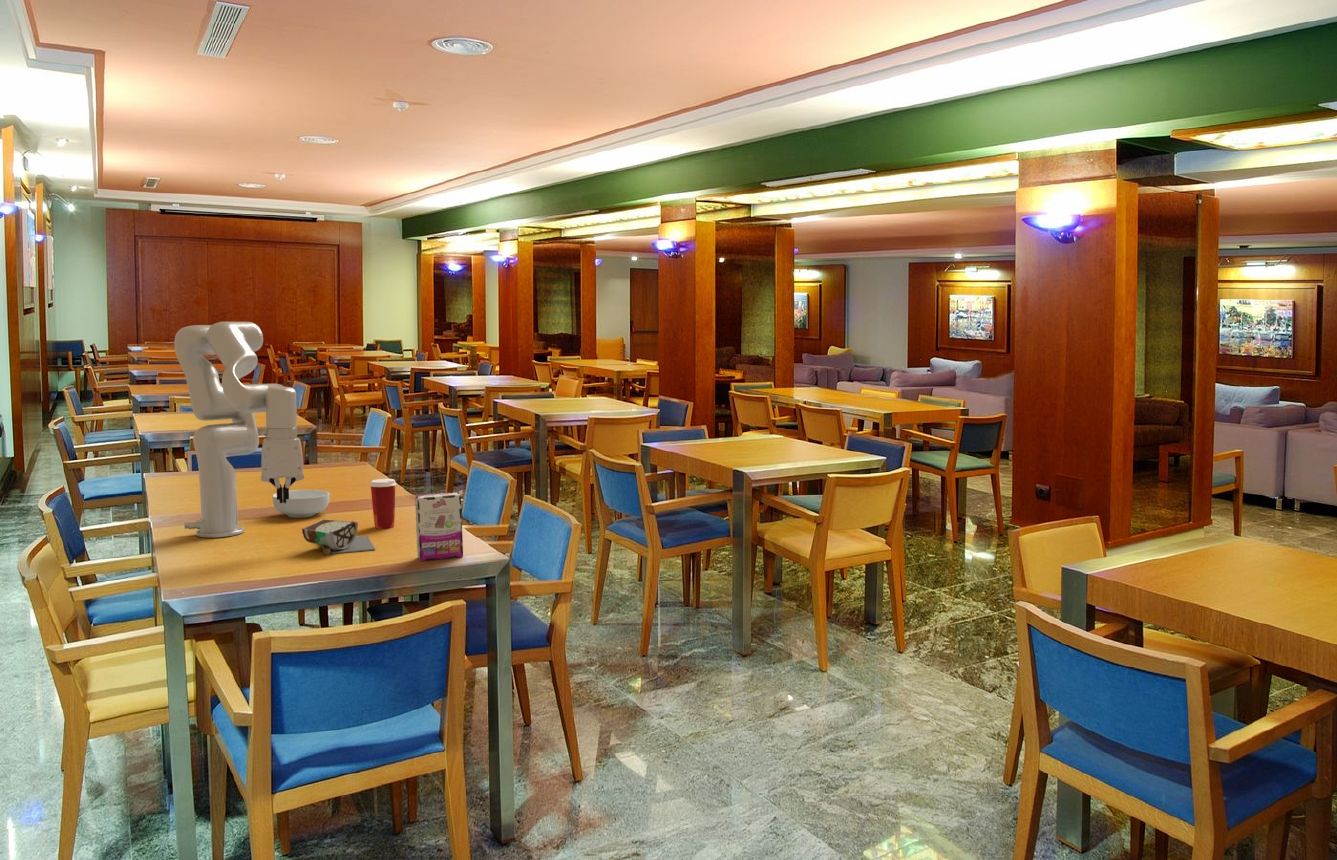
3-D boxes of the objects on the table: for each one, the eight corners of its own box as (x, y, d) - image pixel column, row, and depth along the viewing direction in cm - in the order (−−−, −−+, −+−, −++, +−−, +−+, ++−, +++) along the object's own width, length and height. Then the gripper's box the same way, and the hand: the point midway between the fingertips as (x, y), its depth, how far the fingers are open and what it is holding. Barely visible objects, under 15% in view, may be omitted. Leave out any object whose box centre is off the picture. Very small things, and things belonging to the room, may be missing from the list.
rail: (324, 554, 255) (324, 549, 255) (319, 541, 271) (319, 535, 271) (330, 554, 255) (330, 548, 255) (325, 540, 272) (325, 535, 272)
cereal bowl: (284, 523, 297) (283, 500, 296) (265, 515, 309) (264, 493, 309) (338, 516, 308) (338, 493, 307) (318, 508, 320) (317, 487, 320)
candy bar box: (459, 553, 256) (458, 491, 254) (463, 557, 252) (462, 494, 250) (416, 557, 252) (414, 494, 250) (419, 561, 247) (417, 497, 245)
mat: (331, 554, 255) (331, 552, 255) (326, 540, 272) (326, 539, 272) (374, 550, 260) (374, 548, 260) (367, 537, 276) (367, 535, 276)
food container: (299, 552, 256) (332, 557, 254) (298, 530, 255) (332, 534, 252) (327, 539, 268) (359, 543, 265) (326, 517, 267) (358, 521, 264)
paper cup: (403, 525, 292) (401, 479, 291) (385, 530, 285) (384, 483, 284) (382, 523, 296) (381, 477, 294) (365, 528, 289) (363, 481, 287)
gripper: (250, 436, 250) (252, 506, 253) (312, 435, 256) (313, 503, 258) (250, 432, 257) (252, 500, 259) (311, 431, 263) (312, 498, 265)
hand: (282, 502), depth 259 cm, fingers closed
